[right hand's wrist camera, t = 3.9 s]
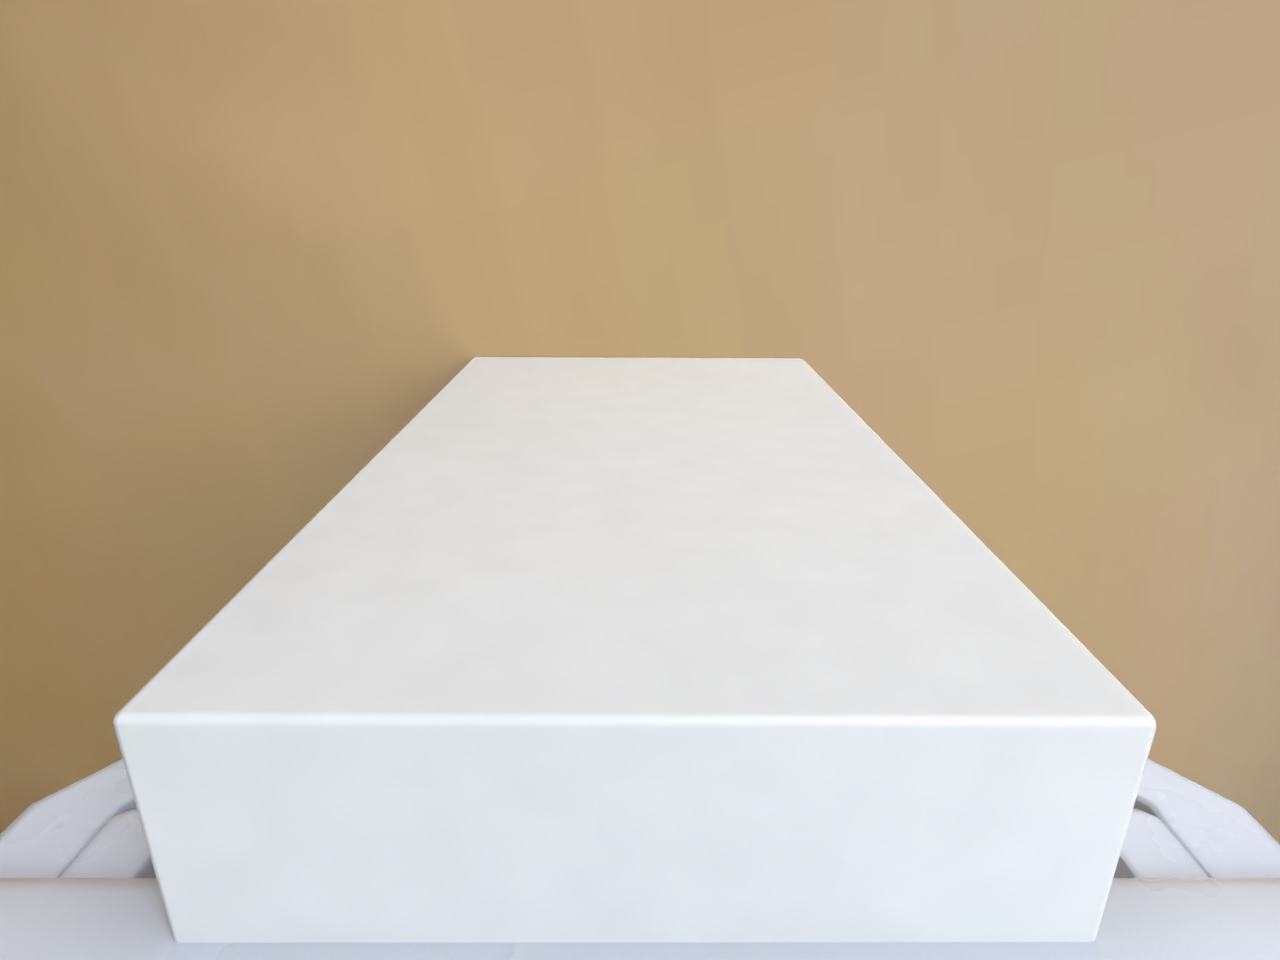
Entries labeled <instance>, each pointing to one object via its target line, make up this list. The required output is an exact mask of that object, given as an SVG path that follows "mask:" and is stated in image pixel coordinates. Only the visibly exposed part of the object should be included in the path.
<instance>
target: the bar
mask: <svg viewBox="0 0 1280 960" xmlns="http://www.w3.org/2000/svg"><path fill="white" fill-rule="evenodd" d="M113 726H114V730H115V733H116V737H117V740H118V744H119V747H120V751H121V754H122V758H123V761H124V765H125V769H126V772H127V776H128V779H129V783H130V786H131V790H132V793H133V797H134V800H135V804H136V808H137V811H138V815H139V818H140V822H141V825H142V829H143V832H144V836H145V839H146V843H147V847H148V850H149V854H150V857H151V861H152V864H153V868H154V871H155V875H156V878H157V882H158V886H159V889H160V893H161V896H162V900H163V903H164V907H165V910H166V914H167V917H168V921H169V925H170V928H171V932H172V935H173V939H174V941H176V942H179V943H416V942H1092V941H1094V940H1096V936H1097V933H1098V929H1099V926H1100V922H1101V919H1102V915H1103V912H1104V908H1105V905H1106V901H1107V898H1108V894H1109V891H1110V887H1111V884H1112V880H1113V877H1114V873H1115V870H1116V866H1117V863H1118V859H1119V856H1120V852H1121V849H1122V845H1123V842H1124V838H1125V835H1126V832H1127V828H1128V825H1129V821H1130V818H1131V814H1132V811H1133V807H1134V804H1135V800H1136V797H1137V793H1138V790H1139V786H1140V783H1141V779H1142V776H1143V772H1144V769H1145V765H1146V762H1147V758H1148V755H1149V751H1150V748H1151V744H1152V741H1153V737H1154V734H1155V730H1156V722H1155V719H1154V717H1153V716H1152V715H1151V714H1150V713H1149V712H1148V711H1147V710H1146V709H1145V708H1144V706H1143V705H1142V704H1141V703H1140V702H1139V701H1138V700H1137V699H1136V698H1135V697H1134V696H1133V695H1132V694H1131V693H1130V692H1129V691H1128V690H1127V689H1126V688H1125V687H1124V686H1123V685H1122V684H1121V683H1120V682H1119V681H1118V680H1117V679H1116V678H1115V677H1114V676H1113V675H1112V674H1111V673H1110V672H1109V671H1108V670H1107V669H1106V668H1105V667H1104V666H1103V665H1102V664H1101V663H1100V662H1099V661H1098V660H1097V659H1096V658H1095V657H1094V656H1093V655H1092V653H1091V652H1090V651H1089V650H1088V649H1087V648H1086V647H1085V646H1084V645H1083V644H1082V643H1081V642H1080V641H1079V640H1078V639H1077V638H1076V637H1075V636H1074V635H1073V634H1072V633H1071V632H1070V631H1069V630H1068V629H1067V628H1066V627H1065V626H1064V625H1063V624H1062V623H1061V622H1060V621H1059V620H1058V619H1057V618H1056V617H1055V616H1054V615H1053V614H1052V613H1051V612H1050V611H1049V610H1048V609H1047V608H1046V607H1045V606H1044V605H1043V604H1042V603H1041V602H1040V600H1039V599H1038V598H1037V597H1036V596H1035V595H1034V594H1033V593H1032V592H1031V591H1030V590H1029V589H1028V588H1027V587H1026V586H1025V585H1024V584H1023V583H1022V582H1021V581H1020V580H1019V579H1018V578H1017V577H1016V576H1015V575H1014V574H1013V573H1012V572H1011V571H1010V570H1009V569H1008V568H1007V567H1006V566H1005V565H1004V564H1003V563H1002V562H1001V561H1000V560H999V559H998V558H997V557H996V556H995V555H994V554H993V553H992V552H991V551H990V550H989V549H988V547H987V546H986V545H985V544H984V543H983V542H982V541H981V540H980V539H979V538H978V537H977V536H976V535H975V534H974V533H973V532H972V531H971V530H970V529H969V528H968V527H967V526H966V525H965V524H964V523H963V522H962V521H961V520H960V519H959V518H958V517H957V516H956V515H955V514H954V513H953V512H952V511H951V510H950V509H949V508H948V507H947V506H946V505H945V504H944V503H943V502H942V501H941V500H940V499H939V498H938V497H937V496H936V494H935V493H934V492H933V491H932V490H931V489H930V488H929V487H928V486H927V485H926V484H925V483H924V482H923V481H922V480H921V479H920V478H919V477H918V476H917V475H916V474H915V473H914V472H913V471H912V470H911V469H910V468H909V467H908V466H907V465H906V464H905V463H904V462H903V461H902V460H901V459H900V458H899V457H898V456H897V455H896V454H895V453H894V452H893V451H892V450H891V449H890V448H889V447H888V446H887V445H886V444H885V442H884V441H883V440H882V439H881V438H880V437H879V436H878V435H877V434H876V433H875V432H874V431H873V430H872V429H871V428H870V427H869V426H868V425H867V424H866V423H865V422H864V421H863V420H862V419H861V418H860V417H859V416H858V415H857V414H856V413H855V412H854V411H853V410H852V409H851V408H850V407H849V406H848V405H847V404H846V403H845V402H844V401H843V400H842V399H841V398H840V397H839V396H838V395H837V394H836V393H835V392H834V391H833V389H832V388H831V387H830V386H829V385H828V384H827V383H826V382H825V381H824V380H823V379H822V378H821V377H820V376H819V375H818V374H817V373H816V372H815V371H814V370H813V369H812V368H811V367H810V366H809V365H808V364H807V363H806V362H805V361H804V360H803V359H801V358H556V357H475V358H473V359H472V360H471V361H470V362H469V363H468V364H467V365H466V366H465V367H464V368H463V369H462V370H461V371H460V372H459V373H458V374H457V375H456V376H455V377H454V378H453V379H452V380H451V381H450V382H449V383H448V384H447V385H446V386H445V387H444V388H443V389H442V390H441V391H440V392H439V393H438V394H437V395H436V396H435V397H434V398H433V399H432V400H431V401H430V402H429V403H428V404H427V405H426V406H425V407H424V408H423V409H422V410H421V411H420V412H419V413H418V414H417V415H416V416H415V417H414V418H413V419H412V420H411V421H410V422H409V423H408V424H406V425H405V426H404V427H403V428H402V429H401V430H400V431H399V432H398V433H397V434H396V435H395V436H394V437H393V438H392V439H391V440H390V441H389V442H388V443H387V444H386V445H385V446H384V447H383V448H382V449H381V450H380V451H379V452H378V453H377V454H376V455H375V456H374V457H373V458H372V459H371V460H370V461H369V462H368V463H367V464H366V465H365V466H364V467H363V468H362V469H361V470H360V471H359V472H358V473H357V474H356V475H355V476H354V477H353V478H352V479H351V480H350V481H349V482H348V483H347V484H346V485H345V486H344V487H343V488H342V489H341V490H340V491H339V492H338V493H337V494H336V495H335V496H334V497H333V498H332V499H331V500H330V501H329V502H328V503H327V504H326V505H325V506H324V507H323V508H322V509H321V510H320V511H319V512H318V513H317V514H316V515H315V516H314V517H313V518H312V519H311V520H310V521H309V522H308V523H307V524H306V525H305V526H304V527H303V528H302V529H301V530H300V531H299V532H298V533H297V534H296V535H295V536H294V537H293V538H292V539H291V540H290V541H289V542H288V543H287V544H286V545H285V546H284V547H283V548H282V549H281V550H280V551H279V552H278V553H277V554H276V555H275V556H274V557H273V558H272V559H271V560H270V561H269V562H268V563H267V564H266V565H265V566H264V567H263V568H262V569H261V570H260V571H259V572H258V573H257V574H256V575H255V576H254V577H253V578H252V579H251V580H250V581H249V582H248V583H247V584H246V585H245V586H244V587H243V588H242V589H241V590H240V591H239V592H238V593H237V594H236V595H235V596H234V597H233V598H232V599H231V600H230V601H229V602H228V603H227V604H226V605H225V606H224V607H223V608H222V609H221V610H220V611H219V612H218V613H217V614H216V615H215V616H214V617H213V618H212V619H211V620H210V621H209V622H208V623H207V624H206V625H205V626H204V627H203V628H202V629H201V630H200V631H199V632H198V633H197V634H196V635H195V636H194V637H193V638H192V639H191V640H190V641H189V642H188V643H187V644H186V645H185V646H184V647H183V648H182V649H181V650H180V651H179V652H178V653H177V654H175V655H174V656H173V657H172V658H171V659H170V660H169V661H168V662H167V663H166V664H165V665H164V666H163V667H162V668H161V669H160V670H159V671H158V672H157V673H156V674H155V675H154V676H153V677H152V678H151V679H150V680H149V681H148V682H147V683H146V684H145V685H144V686H143V687H142V688H141V689H140V690H139V691H138V692H137V693H136V694H135V695H134V696H133V697H132V698H131V699H130V700H129V701H128V702H127V703H126V704H125V705H124V706H123V707H122V708H121V709H120V710H119V711H118V712H117V713H116V715H115V717H114V722H113Z"/></svg>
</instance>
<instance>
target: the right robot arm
mask: <svg viewBox="0 0 1280 960" xmlns="http://www.w3.org/2000/svg"><path fill="white" fill-rule="evenodd" d="M0 960H1280V844H1279V843H1278V842H1277V841H1276V840H1275V839H1274V838H1273V837H1272V836H1271V835H1270V834H1269V833H1268V832H1267V831H1266V830H1265V829H1264V828H1263V827H1262V826H1261V825H1260V824H1259V823H1258V822H1257V821H1256V820H1255V819H1254V818H1253V817H1252V816H1251V815H1250V814H1249V813H1248V812H1247V811H1246V810H1245V809H1244V808H1243V807H1242V806H1240V805H1238V804H1236V803H1234V802H1232V801H1230V800H1228V799H1226V798H1224V797H1222V796H1220V795H1218V794H1217V793H1215V792H1213V791H1211V790H1209V789H1207V788H1205V787H1203V786H1201V785H1199V784H1197V783H1195V782H1193V781H1191V780H1189V779H1187V778H1185V777H1183V776H1181V775H1179V774H1177V773H1175V772H1173V771H1171V770H1169V769H1167V768H1165V767H1163V766H1161V765H1159V764H1157V763H1155V762H1154V761H1152V760H1150V759H1148V758H1147V762H1146V765H1145V769H1144V772H1143V776H1142V779H1141V783H1140V786H1139V790H1138V793H1137V797H1136V800H1135V804H1134V807H1133V811H1132V814H1131V818H1130V821H1129V825H1128V828H1127V832H1126V835H1125V838H1124V842H1123V845H1122V849H1121V852H1120V856H1119V859H1118V863H1117V866H1116V870H1115V873H1114V877H1113V880H1112V884H1111V887H1110V891H1109V894H1108V898H1107V901H1106V905H1105V908H1104V912H1103V915H1102V919H1101V922H1100V926H1099V929H1098V933H1097V936H1096V940H1094V941H1092V942H416V943H179V942H176V941H174V939H173V935H172V932H171V928H170V925H169V921H168V917H167V914H166V910H165V907H164V903H163V900H162V896H161V893H160V889H159V886H158V882H157V878H156V875H155V871H154V868H153V864H152V861H151V857H150V854H149V850H148V847H147V843H146V839H145V836H144V832H143V829H142V825H141V822H140V818H139V815H138V811H137V808H136V804H135V800H134V797H133V793H132V790H131V786H130V783H129V779H128V776H127V772H126V769H125V765H124V761H123V759H121V760H119V761H117V762H115V763H113V764H111V765H109V766H107V767H105V768H103V769H101V770H99V771H97V772H95V773H93V774H91V775H89V776H87V777H85V778H83V779H81V780H79V781H77V782H75V783H73V784H71V785H69V786H67V787H65V788H63V789H61V790H59V791H57V792H55V793H53V794H51V795H49V796H47V797H45V798H43V799H41V800H39V801H37V802H35V803H33V804H31V805H29V806H28V807H27V808H26V809H25V810H24V811H23V812H22V813H21V814H20V815H19V816H18V817H17V818H16V819H15V820H14V821H13V822H12V823H11V824H10V825H9V826H8V827H7V828H6V829H5V830H4V831H3V832H2V833H1V834H0Z"/></svg>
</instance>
